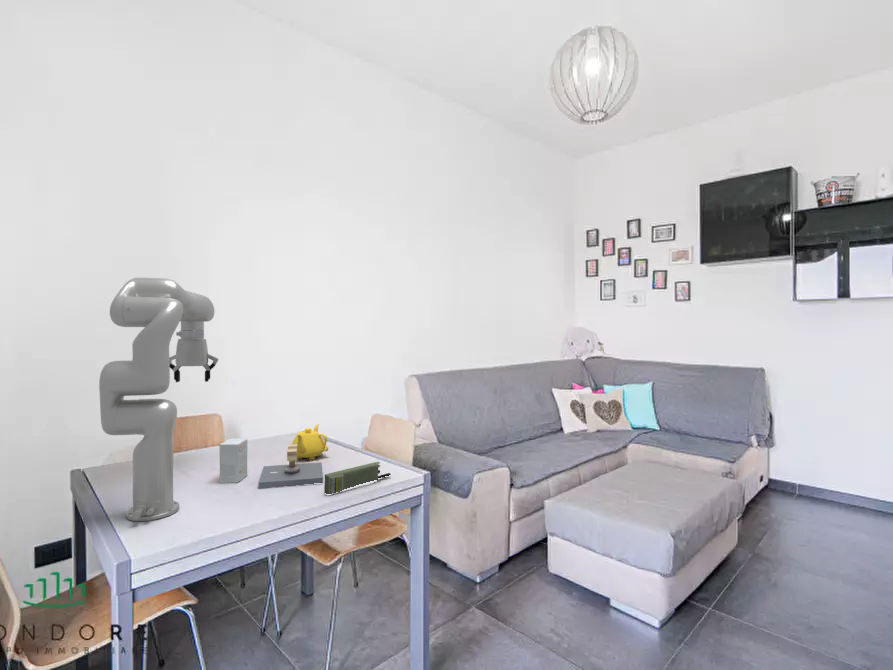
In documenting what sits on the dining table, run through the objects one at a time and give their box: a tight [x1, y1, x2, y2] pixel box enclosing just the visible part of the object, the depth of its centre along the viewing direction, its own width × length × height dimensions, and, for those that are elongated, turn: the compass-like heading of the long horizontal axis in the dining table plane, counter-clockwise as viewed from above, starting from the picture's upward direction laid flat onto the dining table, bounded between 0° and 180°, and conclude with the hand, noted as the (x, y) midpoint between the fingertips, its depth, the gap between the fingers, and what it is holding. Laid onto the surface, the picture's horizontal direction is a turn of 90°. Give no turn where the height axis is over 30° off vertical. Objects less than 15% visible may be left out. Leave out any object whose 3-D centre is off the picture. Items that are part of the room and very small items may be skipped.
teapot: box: [291, 423, 329, 461], centre depth 186 cm, size 20×15×12 cm
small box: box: [219, 438, 248, 484], centre depth 159 cm, size 8×6×13 cm
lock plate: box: [257, 462, 324, 489], centre depth 162 cm, size 18×20×2 cm
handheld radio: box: [323, 461, 391, 494], centre depth 154 cm, size 7×3×25 cm
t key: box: [285, 443, 300, 473], centre depth 162 cm, size 10×5×8 cm, turn 16°
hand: (192, 381), depth 173 cm, fingers open, 9 cm apart
